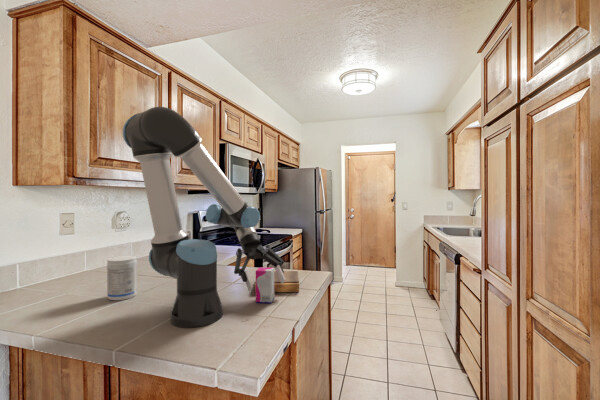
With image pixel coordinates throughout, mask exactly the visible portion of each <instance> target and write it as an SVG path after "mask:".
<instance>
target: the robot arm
mask: <svg viewBox="0 0 600 400" xmlns="http://www.w3.org/2000/svg"><path fill="white" fill-rule="evenodd" d="M122 137H123V141H124V142H125V144H126V146H128V147H129V148H130V149H131V153H132V157H133V159H135V160H136V161H138V162H139V163H140V169H141V173H142V179H143V183H144V187H145V193H146V198H147V202H148V203H147V204H148V207H149V212H150V217H151V223H152V227H153V233H154V236H153V237H152V239H151V240H150V244H151V249H150V251H149V253H148V262H149V265H150V266H151V268H152V269H153V270H154V271H155V272H157V273H158V274H160V275H162V276H165V277H170V278H173V279H175V280H176V296H175V300H174V303H173V306H172V308H171V310H170V311H171V312H170V323H171V324H172V325H173V326H175V327H179V328H198V327H202V326H203V327H204V326H207V325H210V324H213V323H215V322H217V321H218V320H220V319H221V318H222V317H223V309H224V307H223V304H222V301H221V298H220V296H219V293H218V289H217V288H218V287H217V286H218V284H217V283H218V282H217V281H218V279H217V278H218V277H217V276H218V273H217V272H218V271H217V269H218V267H217V266H218V254H217V253H218V252H217V246H216V244H215V243H214V242H212V241H209V240H206V239H196V238H191V239H190V237H189V233H188V232H187V231H186V230H184V229H183V225H182V224H183V223H182V219H181V214H180V208H179V205H178V204H179V203H178V198H177V194H176V187H175V182H174V176H173V171H172V165H171V161H170V160H171V158H172V157H173V156H174V157H175V158H179V159H181V160H182V161H183V162H184V164H185V165H186V166H187V167H188V168H189V170H190V171H191V172H192V173H193V175H195V177H196V178H197V179H198V181H199V182H200V183H201V184H202V185H203V187H204V188H205V189H206V190H207V191H208V192H209V194H210V195H211V196H212V197H213V198H214V199H215V201H216V202H217V203H218V204H217V203H212V204H210V205H208V207H207V208H206V212H205V219H206V221H207V222H208V223H210V224H213V225H218V226H224V227H228V228H231V229H232V228H233V229H234V232H235V234H236V237H237V239H238V241H239V244H240V247H241V248H240V247H238V248H237V250H236V253H235V255H236V258H235V259H236V260H235V265H234V270H233V273H234V275H238V276H240V278H241V280H242V282H243V283H245V285H246V287H247V291H248V292H250V291H252V290H253V288H254V285H253V282H252V280H251V278H250V274H249V272H248V270H246V269H247V266H248V264H249V261H250V260H252V261H253V260H258V259H260V260H263V261H265V262H267V263H268V264H270V265H271V266H273V268H274V271H276V273H277V275H278V277H279V279H280V282H281V284H283V283H284V282H285V280H286V279H285V276H284V274H283V273H284V271H285V270H284V269H283V267H282V266H283V265H284V263H285V261H284V259H282V257H281V256H279V254H277V253H276V252H275V251H274V250H273V249H272V248H271V246H270V245H269V244H266V246H263V245H262V244H261V239H260V238H259V235H258V233H257V231H256V228H255V227H256V226H257V225H258V224H259V223H260V220H261V214H260V210H259V209H258V208H256V207H254V206H251V205H250V206H249V205H248V204H247V203H246V202H245V200H244V198H243V197H242V196H241V195H240V193H239V192H238V190H237V189H236V188H235V187H234V185H233V184H232V182H231V181H230V180H229V179H228V177H227V176H226V175H225V173H224V172H223V171H222V169H221V168H220V166H219V165H218V164H217V162H216V161H215V160H214V158H213V157H212V156H211V155H210V153H209V152H208V151H207V149H206V148H205V146H203V144H202V137H201V136H200V135H199V132H197V131H196V129H195V128H194V127H193V126H192V125H191V123H189V122H188V121H187V119H185V117H183V115H181V114H180V113H178V111H176V110H173V109H171V108H169V107H166V106H154V107H151V108H148V109H147V110H144V111H142V112H139V113H135V114H134V115H132V116H131V117H130V118H128V119H127V120H126V122H125V123H124V125H123V127H122ZM243 254H244V255H245V256H246V258H245V260H244V262H243V264H242V267H241V262H242V256H243ZM240 267H241V268H240Z"/></svg>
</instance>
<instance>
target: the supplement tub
mask: <svg viewBox="0 0 600 400" xmlns="http://www.w3.org/2000/svg"><path fill="white" fill-rule="evenodd" d="M106 269H107V270H106V272H107V274H106V275H107V276H106V277H107V279H106V281H107V299H109V300H110V301H123V300H125V301H126V300H128V299H131V298H133V297H134V298H135V296H136V295H137V294H138V260H137V256H136V255H118V256H114V257H110V258H107V263H106Z"/></svg>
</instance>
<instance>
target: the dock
mask: <svg viewBox="0 0 600 400" xmlns="http://www.w3.org/2000/svg"><path fill="white" fill-rule="evenodd" d="M283 271H284V273H283V274H284V276H285V279H286V280H285V282H284V283H283V284H281V282H280V279H279V277H278V275H277V273H276V270H274V293H296V292H298V293H300V279H299V274H298V273H299V272H298V270H286V271H285V270H283ZM254 293H255V294H256V283H254Z"/></svg>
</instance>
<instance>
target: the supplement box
mask: <svg viewBox="0 0 600 400" xmlns="http://www.w3.org/2000/svg"><path fill="white" fill-rule="evenodd" d="M274 271H275V267H268V266H267V267H264V266H263V267H259V268H257V269H256V270H255V284H256V293H255V304H267V305H268V304H272V303H273V302H274V300H275V292H274Z"/></svg>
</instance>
